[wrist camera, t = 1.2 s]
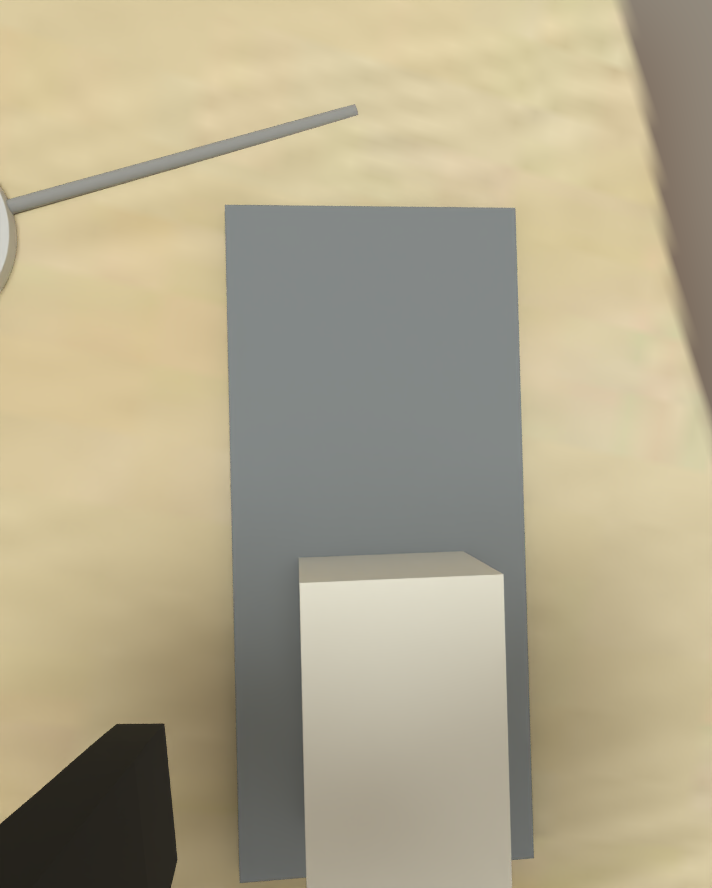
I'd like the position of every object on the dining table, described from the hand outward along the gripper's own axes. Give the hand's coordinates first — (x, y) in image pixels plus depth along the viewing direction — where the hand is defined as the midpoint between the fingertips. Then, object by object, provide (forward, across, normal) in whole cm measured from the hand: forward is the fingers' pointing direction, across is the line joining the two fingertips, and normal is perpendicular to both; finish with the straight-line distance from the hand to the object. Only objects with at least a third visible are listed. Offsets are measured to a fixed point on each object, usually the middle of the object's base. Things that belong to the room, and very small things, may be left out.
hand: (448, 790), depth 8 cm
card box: (+9, +1, +4) cm, 10 cm away
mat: (+10, +1, 0) cm, 10 cm away
